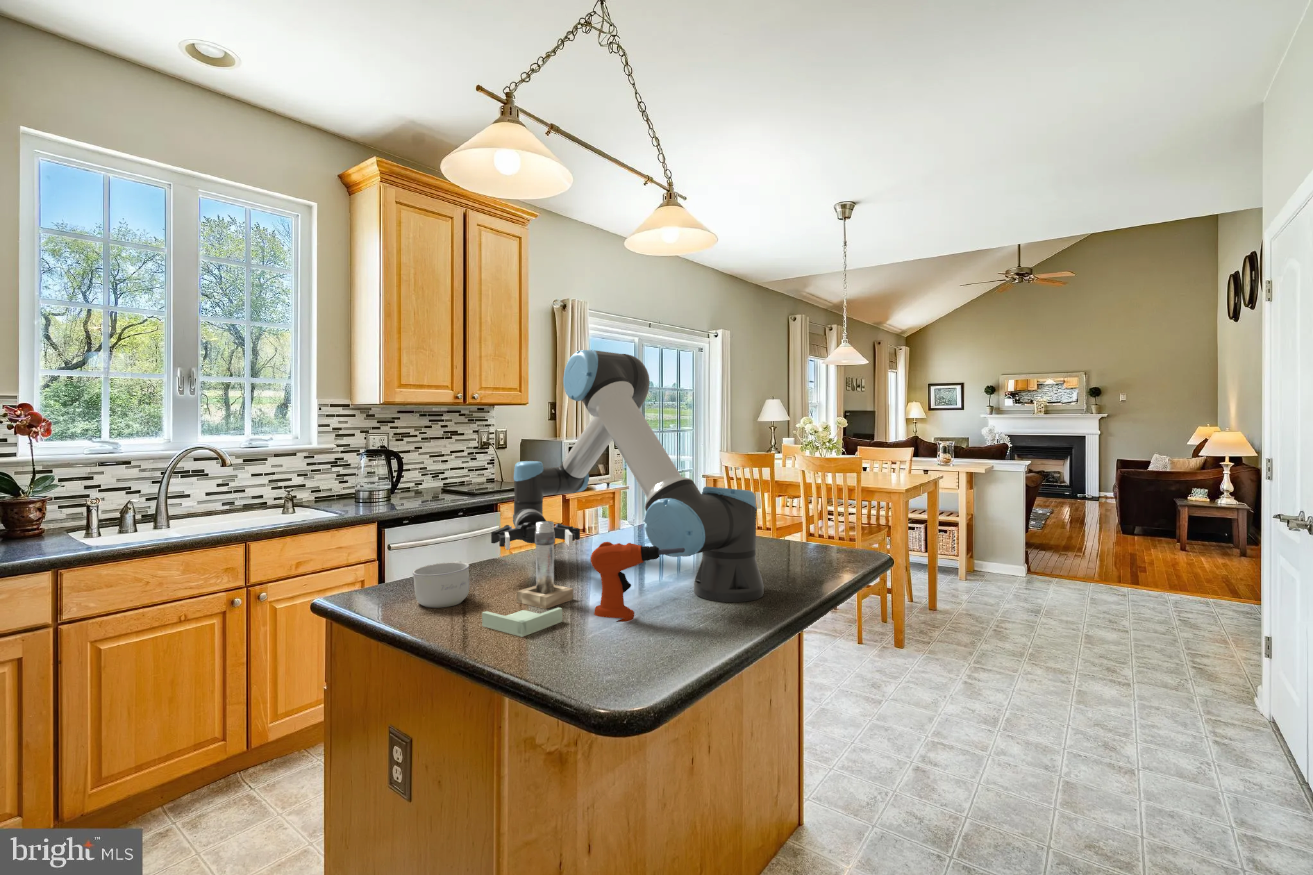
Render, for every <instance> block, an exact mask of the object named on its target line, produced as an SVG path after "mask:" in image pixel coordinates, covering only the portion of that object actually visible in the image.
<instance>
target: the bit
mask: <svg viewBox="0 0 1313 875" xmlns="http://www.w3.org/2000/svg"><path fill="white" fill-rule="evenodd" d="M554 523H555V522H554V521H553V520H551V521H550V520H546V521H540V522H536V531H535V543H534V544H535V586H536V593H541V594H549V593H552V592H554V585H555V545H554V544H555V543H556V538H555V531H554V527H555V524H554Z"/></svg>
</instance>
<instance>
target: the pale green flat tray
mask: <svg viewBox="0 0 1313 875" xmlns="http://www.w3.org/2000/svg"><path fill="white" fill-rule="evenodd" d="M481 616H482V617H481V625H482V626H481V627H484V628H488V629H492V630H495V631H499V632H503V633H505V634H510V635H513V636H516V637H520V638H523V637H525V636H528V635H530V634H533V633H536V632H539V631H542V630H544V629H547V628H549V627H552V626H555V625H557V624H560V623H563V608H561V607H555V608H551V609H550V610H547V611H544V612H541V613H538V612H534V611H530V610H526V609H522V610H519V611H516V612H514V613H511V614H507V615H504V614H499V613H495V612H491V611H488V610H486V611H482V613H481Z"/></svg>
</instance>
